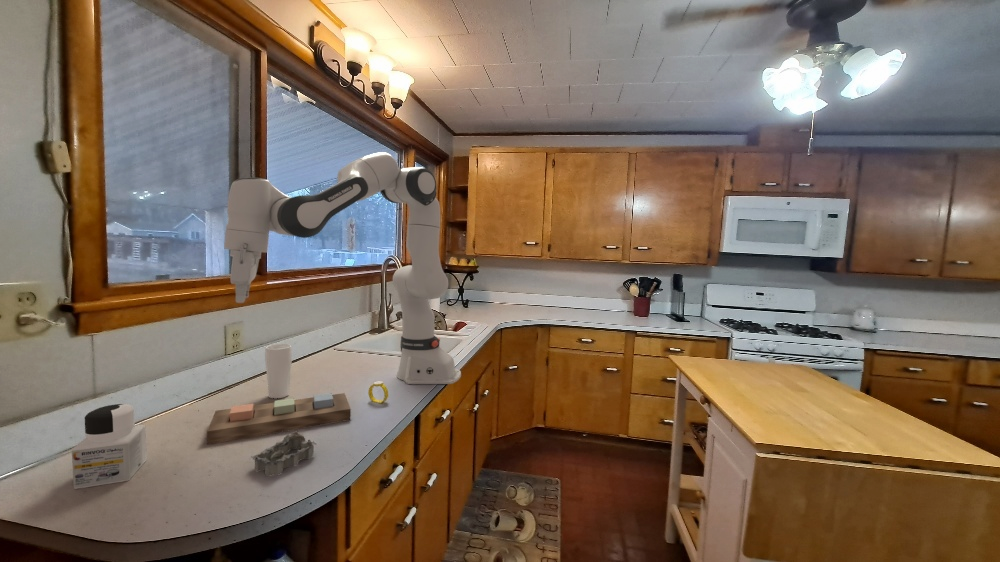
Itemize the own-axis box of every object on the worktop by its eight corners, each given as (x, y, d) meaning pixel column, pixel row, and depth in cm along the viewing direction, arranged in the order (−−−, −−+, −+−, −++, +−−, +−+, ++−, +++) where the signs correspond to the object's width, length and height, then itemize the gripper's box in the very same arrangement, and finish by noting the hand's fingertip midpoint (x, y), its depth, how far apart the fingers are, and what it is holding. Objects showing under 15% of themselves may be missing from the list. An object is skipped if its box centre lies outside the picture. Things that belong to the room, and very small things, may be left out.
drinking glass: (297, 392, 117) (296, 344, 115) (282, 401, 110) (281, 349, 109) (276, 390, 117) (275, 342, 116) (260, 399, 111) (259, 348, 109)
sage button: (294, 409, 100) (294, 398, 100) (294, 415, 97) (294, 404, 96) (274, 412, 98) (274, 400, 98) (274, 418, 94) (274, 407, 94)
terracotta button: (253, 415, 96) (253, 403, 96) (252, 422, 92) (252, 410, 92) (232, 418, 94) (232, 406, 94) (230, 425, 90) (229, 413, 90)
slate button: (331, 403, 105) (331, 393, 105) (333, 409, 101) (333, 398, 101) (313, 406, 103) (313, 395, 102) (314, 412, 99) (314, 401, 99)
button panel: (344, 403, 110) (344, 393, 110) (350, 420, 100) (350, 408, 99) (215, 422, 96) (215, 410, 95) (207, 444, 85) (206, 431, 85)
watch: (367, 403, 112) (366, 383, 111) (373, 399, 114) (372, 380, 114) (384, 405, 110) (383, 384, 109) (390, 401, 112) (389, 381, 112)
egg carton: (298, 446, 86) (299, 429, 86) (319, 456, 83) (320, 438, 82) (248, 468, 77) (248, 448, 77) (269, 480, 73) (269, 460, 73)
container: (72, 490, 68) (68, 419, 67) (97, 467, 75) (94, 403, 74) (129, 481, 71) (126, 413, 70) (147, 460, 78) (145, 398, 77)
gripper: (259, 245, 86) (254, 306, 86) (263, 245, 104) (259, 296, 104) (225, 241, 83) (220, 305, 83) (235, 242, 100) (231, 294, 101)
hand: (242, 300), depth 94 cm, fingers open, 8 cm apart
